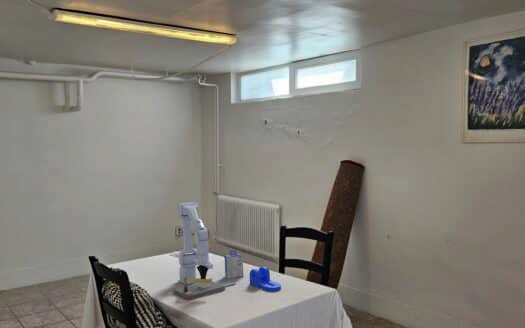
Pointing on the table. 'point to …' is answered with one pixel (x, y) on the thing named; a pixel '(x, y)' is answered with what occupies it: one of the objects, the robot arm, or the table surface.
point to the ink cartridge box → (233, 265)
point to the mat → (226, 283)
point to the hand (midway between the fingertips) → (203, 280)
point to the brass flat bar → (195, 281)
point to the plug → (204, 284)
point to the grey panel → (198, 290)
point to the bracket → (263, 279)
